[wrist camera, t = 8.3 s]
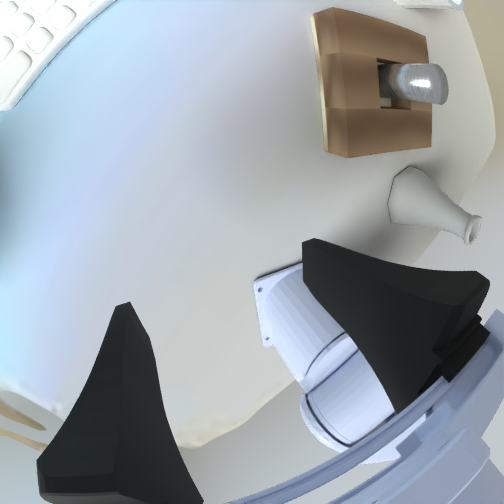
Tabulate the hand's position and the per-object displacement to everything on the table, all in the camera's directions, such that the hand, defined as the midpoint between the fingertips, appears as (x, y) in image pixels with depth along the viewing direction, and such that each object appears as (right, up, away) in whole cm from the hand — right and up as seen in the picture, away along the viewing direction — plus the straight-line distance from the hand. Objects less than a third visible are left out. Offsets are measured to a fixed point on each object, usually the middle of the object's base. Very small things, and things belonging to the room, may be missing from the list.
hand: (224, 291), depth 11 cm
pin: (+12, +17, +8) cm, 22 cm away
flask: (+19, +8, +17) cm, 27 cm away
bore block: (+12, +17, +9) cm, 22 cm away
